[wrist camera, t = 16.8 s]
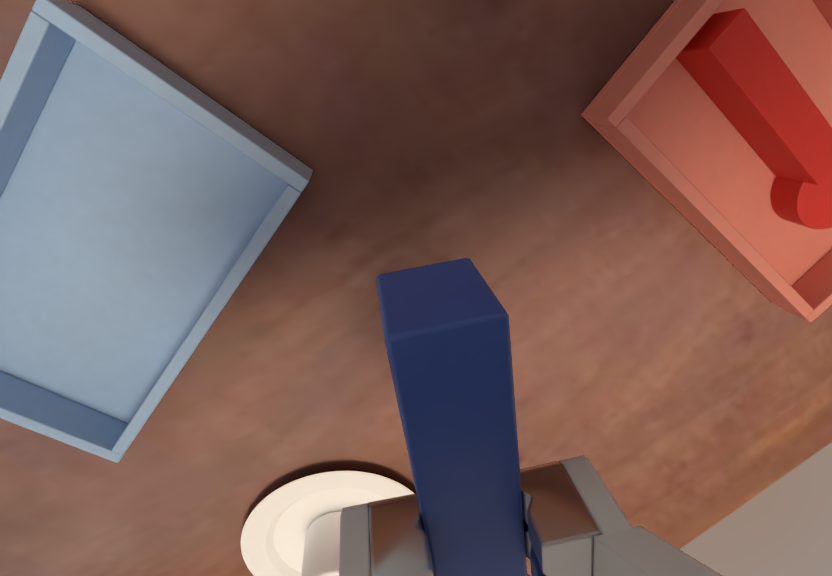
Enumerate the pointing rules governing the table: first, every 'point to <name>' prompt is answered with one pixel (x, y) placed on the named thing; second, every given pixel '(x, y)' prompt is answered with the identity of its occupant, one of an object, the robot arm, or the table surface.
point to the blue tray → (117, 226)
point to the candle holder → (308, 522)
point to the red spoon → (767, 113)
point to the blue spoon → (457, 414)
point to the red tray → (724, 144)
